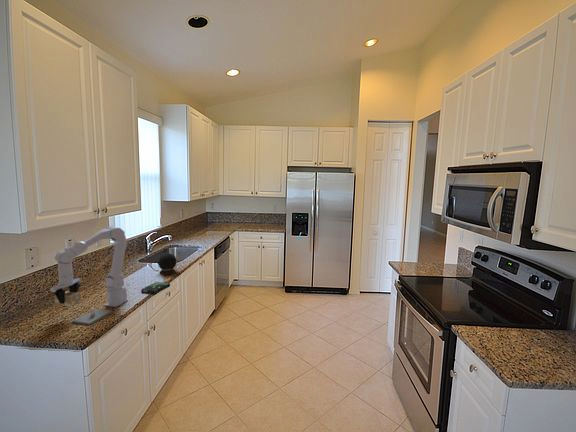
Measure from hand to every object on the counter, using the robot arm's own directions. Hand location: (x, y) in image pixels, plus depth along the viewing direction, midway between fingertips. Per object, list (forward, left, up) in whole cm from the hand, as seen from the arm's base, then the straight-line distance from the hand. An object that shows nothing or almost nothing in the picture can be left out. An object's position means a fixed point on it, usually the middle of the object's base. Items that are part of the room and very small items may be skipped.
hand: (67, 300), depth 148 cm
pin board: (-3, +11, -9) cm, 15 cm away
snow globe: (-77, +4, -10) cm, 78 cm away
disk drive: (-45, +17, -10) cm, 49 cm away
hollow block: (0, 0, -1) cm, 1 cm away
